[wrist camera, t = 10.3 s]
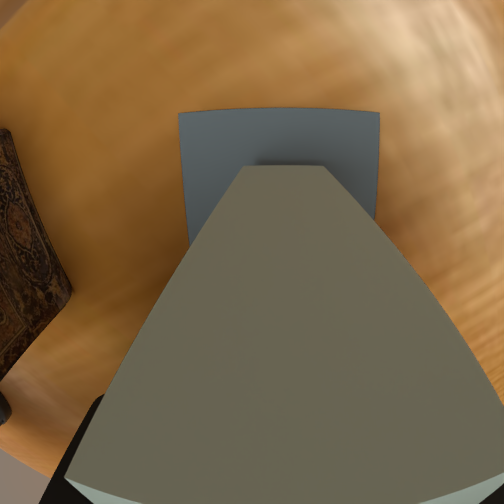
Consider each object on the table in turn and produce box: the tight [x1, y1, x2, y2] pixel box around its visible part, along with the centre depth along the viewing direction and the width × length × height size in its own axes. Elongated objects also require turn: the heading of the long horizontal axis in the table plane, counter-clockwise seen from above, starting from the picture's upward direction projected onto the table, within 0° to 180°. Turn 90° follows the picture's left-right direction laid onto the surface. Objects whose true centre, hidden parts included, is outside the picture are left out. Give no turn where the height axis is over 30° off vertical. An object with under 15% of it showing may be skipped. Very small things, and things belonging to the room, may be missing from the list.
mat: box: [178, 108, 380, 246], centre depth 20 cm, size 12×18×1 cm, turn 2°
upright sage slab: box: [64, 165, 504, 504], centre depth 11 cm, size 4×12×15 cm, turn 2°
